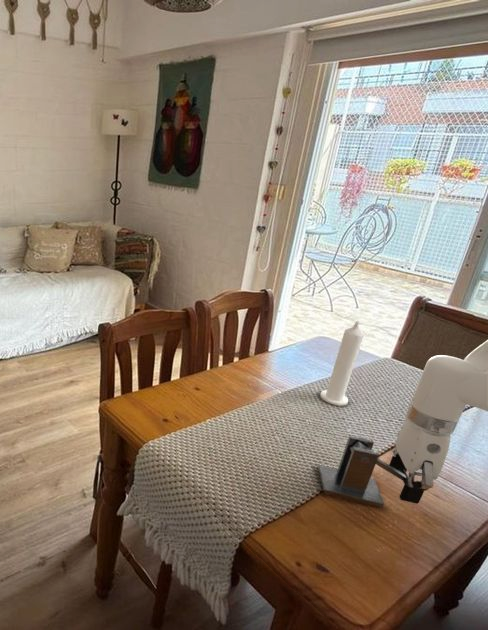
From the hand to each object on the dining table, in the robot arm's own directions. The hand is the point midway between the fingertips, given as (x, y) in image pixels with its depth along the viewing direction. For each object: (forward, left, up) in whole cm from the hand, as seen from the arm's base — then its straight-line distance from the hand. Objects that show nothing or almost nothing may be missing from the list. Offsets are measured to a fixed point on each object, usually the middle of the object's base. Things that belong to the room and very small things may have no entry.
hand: (402, 485), depth 92 cm
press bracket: (+6, +7, -4) cm, 10 cm away
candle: (+33, -20, -4) cm, 39 cm away
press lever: (+3, +4, +3) cm, 6 cm away
